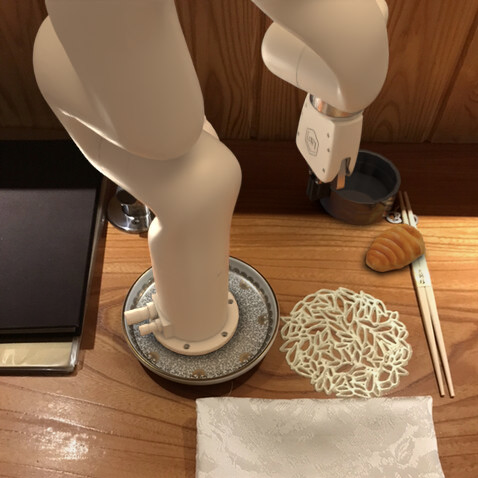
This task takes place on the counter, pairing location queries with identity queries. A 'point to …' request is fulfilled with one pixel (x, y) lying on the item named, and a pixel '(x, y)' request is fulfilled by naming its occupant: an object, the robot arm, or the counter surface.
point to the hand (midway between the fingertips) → (317, 195)
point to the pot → (365, 191)
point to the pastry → (395, 248)
